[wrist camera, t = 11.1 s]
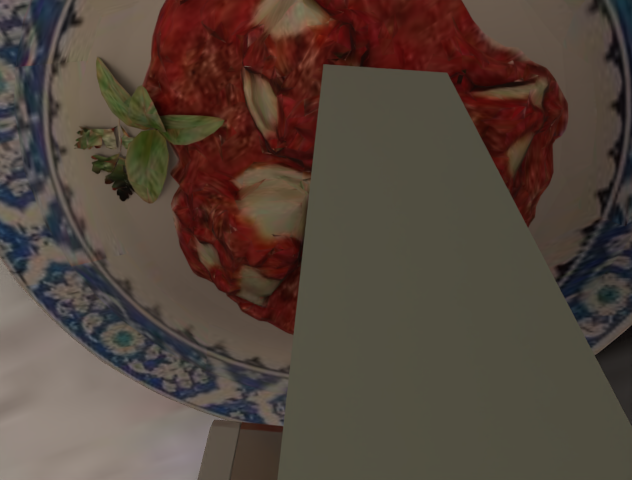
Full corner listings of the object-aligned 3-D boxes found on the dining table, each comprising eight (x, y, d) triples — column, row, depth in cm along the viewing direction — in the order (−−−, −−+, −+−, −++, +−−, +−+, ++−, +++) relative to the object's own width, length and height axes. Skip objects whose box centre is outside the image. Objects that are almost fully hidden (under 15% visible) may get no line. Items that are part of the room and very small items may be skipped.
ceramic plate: (910, 8, 17) (1007, 31, 14) (430, 460, 30) (438, 513, 27) (75, -628, 11) (-2, -770, 9) (-69, 270, 24) (-116, 315, 22)
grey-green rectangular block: (447, 73, 14) (743, 643, 3) (393, 366, 19) (446, 916, 9) (323, 64, 14) (263, 606, 3) (304, 360, 19) (261, 902, 9)
